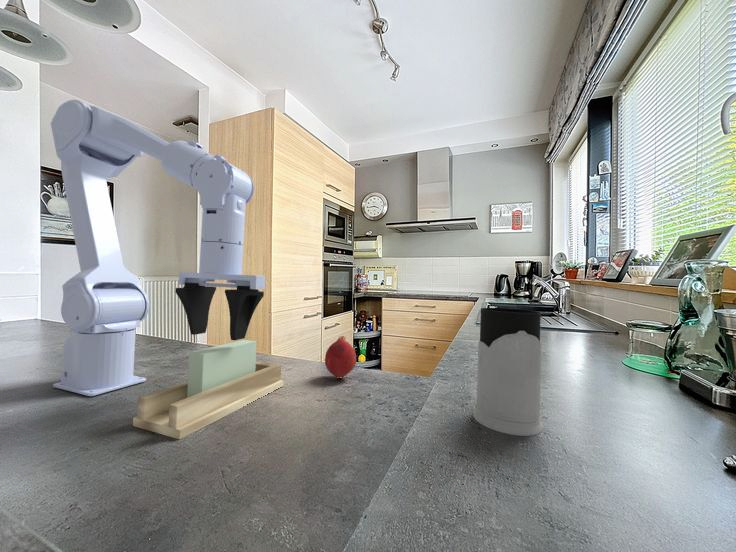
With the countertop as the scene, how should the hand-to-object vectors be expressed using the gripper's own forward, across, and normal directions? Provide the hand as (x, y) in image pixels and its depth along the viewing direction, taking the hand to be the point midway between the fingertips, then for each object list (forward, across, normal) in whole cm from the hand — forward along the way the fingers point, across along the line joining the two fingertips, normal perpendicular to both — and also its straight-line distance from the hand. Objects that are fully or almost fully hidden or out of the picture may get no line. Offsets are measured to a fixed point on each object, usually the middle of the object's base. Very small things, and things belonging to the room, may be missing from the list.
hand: (217, 336), depth 45 cm
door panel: (+8, -2, 0) cm, 8 cm away
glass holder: (+9, -39, -14) cm, 43 cm away
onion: (+9, -12, -17) cm, 23 cm away
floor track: (+9, -2, 0) cm, 9 cm away
